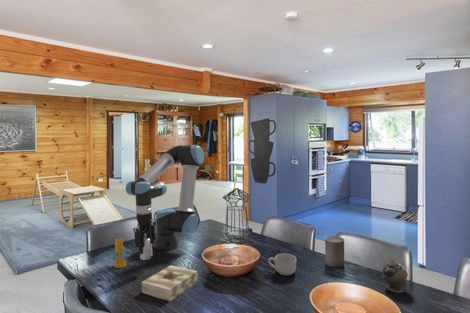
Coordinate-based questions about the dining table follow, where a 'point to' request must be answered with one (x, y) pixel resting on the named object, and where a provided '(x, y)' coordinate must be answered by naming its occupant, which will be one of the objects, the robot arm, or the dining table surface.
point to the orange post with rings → (119, 254)
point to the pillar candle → (334, 251)
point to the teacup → (284, 264)
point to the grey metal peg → (147, 248)
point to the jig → (169, 282)
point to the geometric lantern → (234, 213)
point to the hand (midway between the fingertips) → (146, 257)
